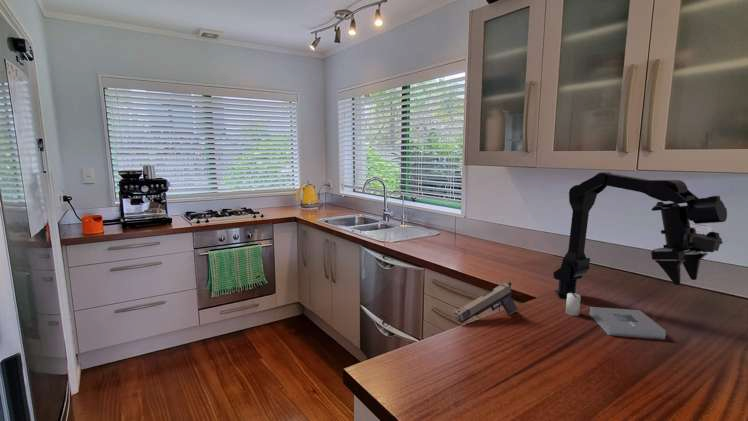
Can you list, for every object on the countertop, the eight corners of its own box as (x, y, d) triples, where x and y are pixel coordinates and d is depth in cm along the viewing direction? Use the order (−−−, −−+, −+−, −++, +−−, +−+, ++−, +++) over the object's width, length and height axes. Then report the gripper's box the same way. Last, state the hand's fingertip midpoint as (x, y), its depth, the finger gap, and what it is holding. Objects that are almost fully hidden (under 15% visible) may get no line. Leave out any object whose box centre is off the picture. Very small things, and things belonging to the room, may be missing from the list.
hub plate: (589, 314, 118) (590, 306, 118) (638, 317, 116) (639, 309, 115) (608, 335, 104) (609, 325, 104) (665, 339, 102) (666, 330, 102)
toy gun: (461, 338, 115) (452, 311, 113) (514, 306, 121) (507, 279, 118) (466, 342, 113) (457, 314, 110) (520, 309, 119) (512, 282, 116)
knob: (564, 310, 121) (565, 291, 120) (576, 311, 120) (578, 292, 120) (567, 315, 117) (569, 296, 117) (581, 316, 117) (582, 296, 116)
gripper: (696, 226, 92) (707, 290, 91) (729, 220, 101) (739, 278, 100) (645, 229, 101) (655, 287, 100) (679, 223, 110) (688, 276, 109)
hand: (685, 282), depth 102 cm, fingers open, 9 cm apart
